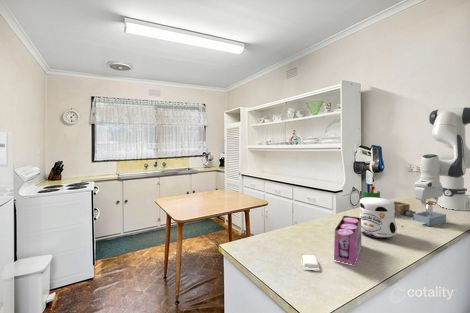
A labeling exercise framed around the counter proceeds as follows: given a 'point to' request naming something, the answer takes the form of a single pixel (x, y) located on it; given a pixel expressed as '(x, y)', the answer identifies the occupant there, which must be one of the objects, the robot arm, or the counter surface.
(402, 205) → the bracket
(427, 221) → the tray
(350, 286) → the counter surface
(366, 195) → the motor
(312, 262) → the soap
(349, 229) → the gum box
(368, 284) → the counter surface
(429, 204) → the pin
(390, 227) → the milk container
